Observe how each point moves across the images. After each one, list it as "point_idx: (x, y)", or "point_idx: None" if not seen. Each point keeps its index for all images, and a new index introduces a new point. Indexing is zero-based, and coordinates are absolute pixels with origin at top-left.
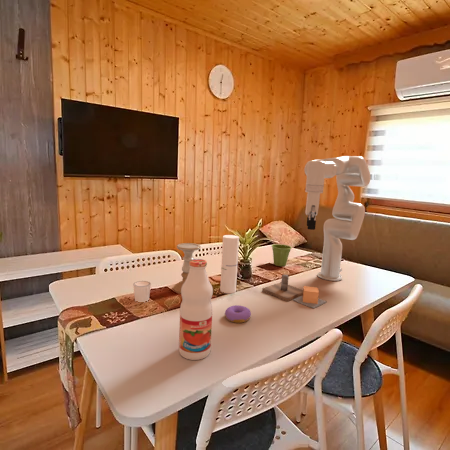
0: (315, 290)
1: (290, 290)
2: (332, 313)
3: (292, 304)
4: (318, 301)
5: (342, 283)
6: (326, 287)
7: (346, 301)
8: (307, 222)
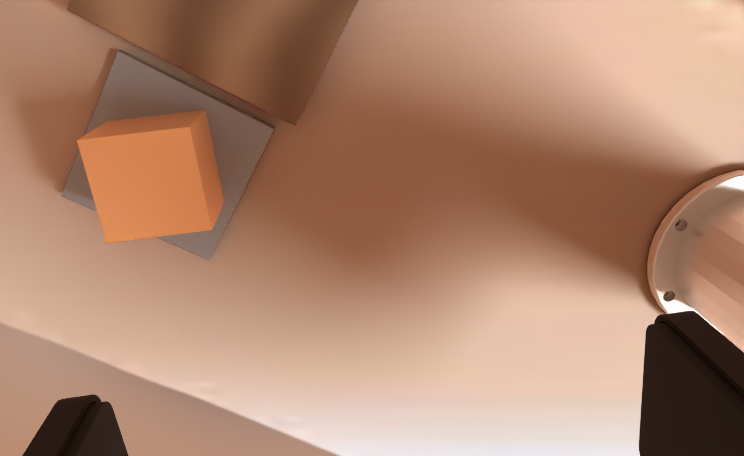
0: (138, 218)
1: (244, 10)
2: (62, 294)
3: (48, 53)
4: None
5: (619, 331)
6: (498, 242)
7: (297, 357)
8: (697, 375)
